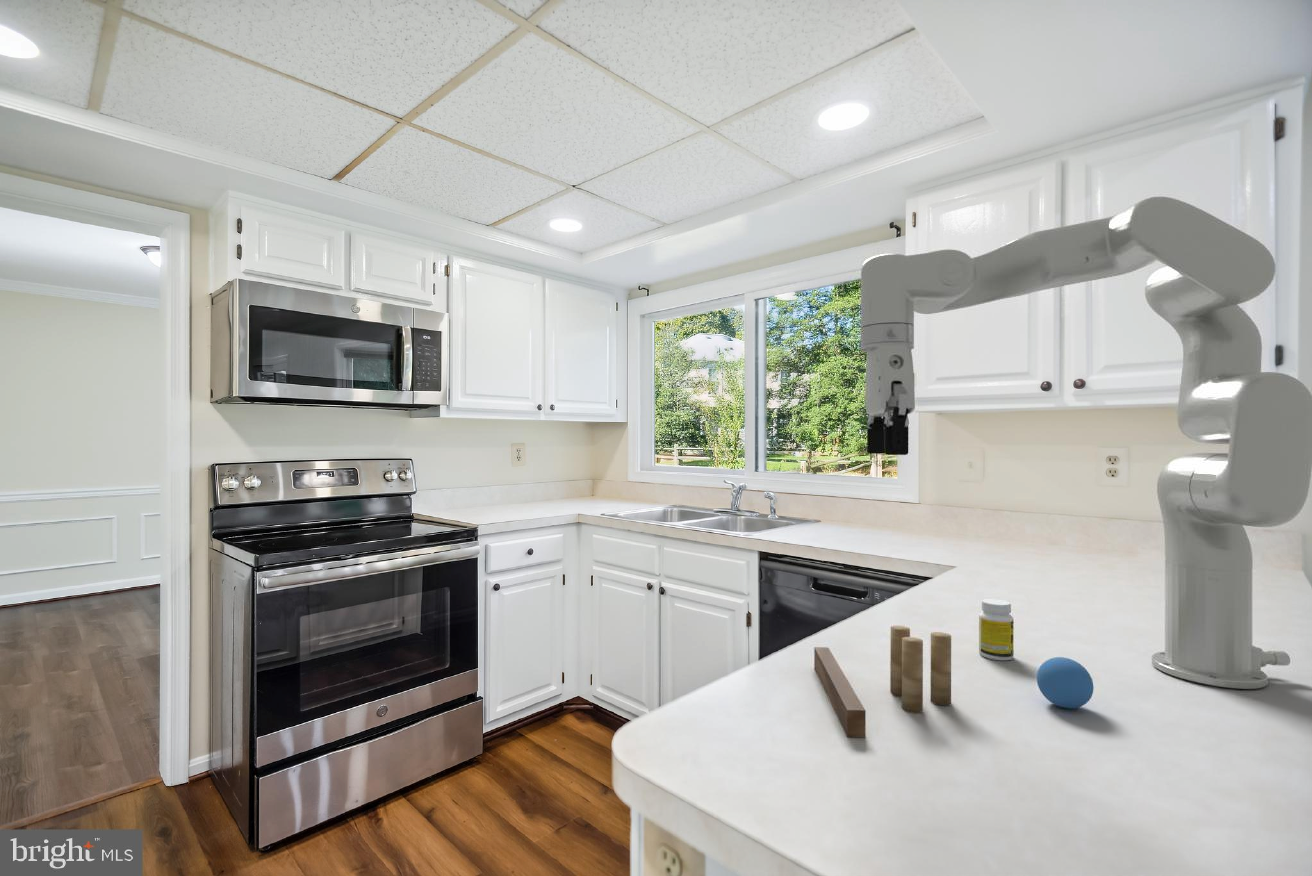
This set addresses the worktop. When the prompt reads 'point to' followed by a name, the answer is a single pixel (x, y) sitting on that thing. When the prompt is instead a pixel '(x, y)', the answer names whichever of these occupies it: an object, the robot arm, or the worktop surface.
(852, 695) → the back rail
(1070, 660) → the ball
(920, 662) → the pin
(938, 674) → the pin front
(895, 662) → the pin
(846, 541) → the worktop surface
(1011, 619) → the supplement bottle
